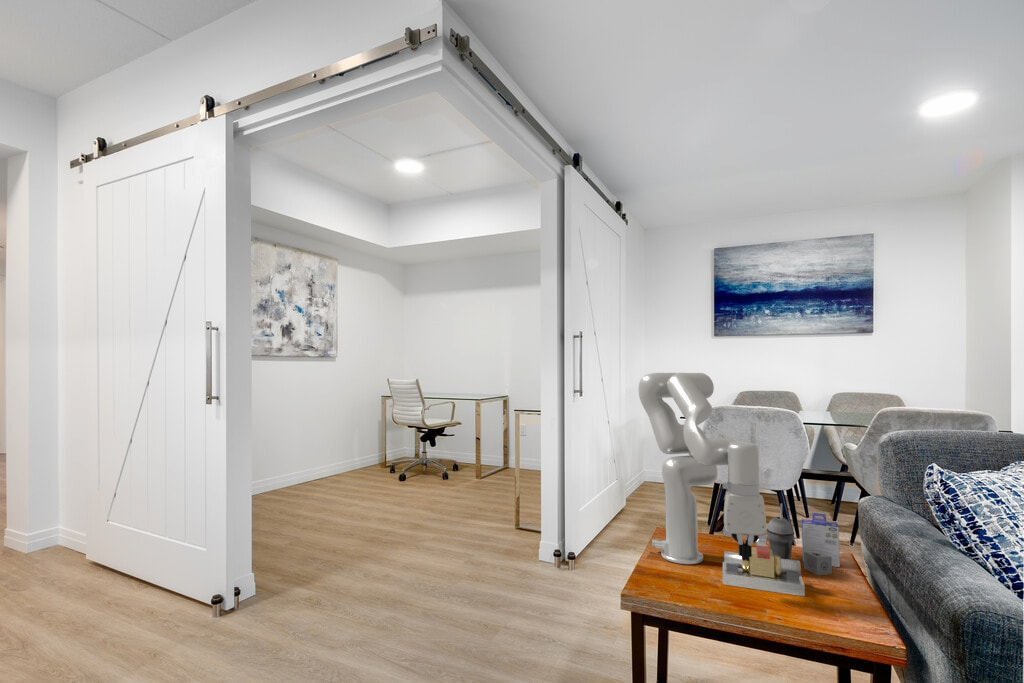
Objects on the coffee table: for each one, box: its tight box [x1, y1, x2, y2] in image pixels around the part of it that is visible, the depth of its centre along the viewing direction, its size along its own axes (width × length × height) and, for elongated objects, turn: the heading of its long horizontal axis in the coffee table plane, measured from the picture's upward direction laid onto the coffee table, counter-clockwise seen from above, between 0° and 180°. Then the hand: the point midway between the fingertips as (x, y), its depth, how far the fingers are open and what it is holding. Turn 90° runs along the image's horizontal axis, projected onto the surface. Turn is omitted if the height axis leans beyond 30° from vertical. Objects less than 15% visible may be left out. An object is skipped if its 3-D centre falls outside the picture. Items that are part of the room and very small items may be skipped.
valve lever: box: [754, 538, 770, 559], centre depth 139 cm, size 14×3×2 cm, turn 158°
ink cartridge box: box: [801, 512, 841, 568], centre depth 159 cm, size 10×6×14 cm, turn 65°
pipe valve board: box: [722, 546, 806, 597], centre depth 144 cm, size 20×9×11 cm, turn 68°
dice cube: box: [803, 551, 833, 576], centre depth 152 cm, size 5×5×5 cm
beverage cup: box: [766, 503, 795, 560], centre depth 153 cm, size 7×7×20 cm
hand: (745, 558), depth 137 cm, fingers closed
